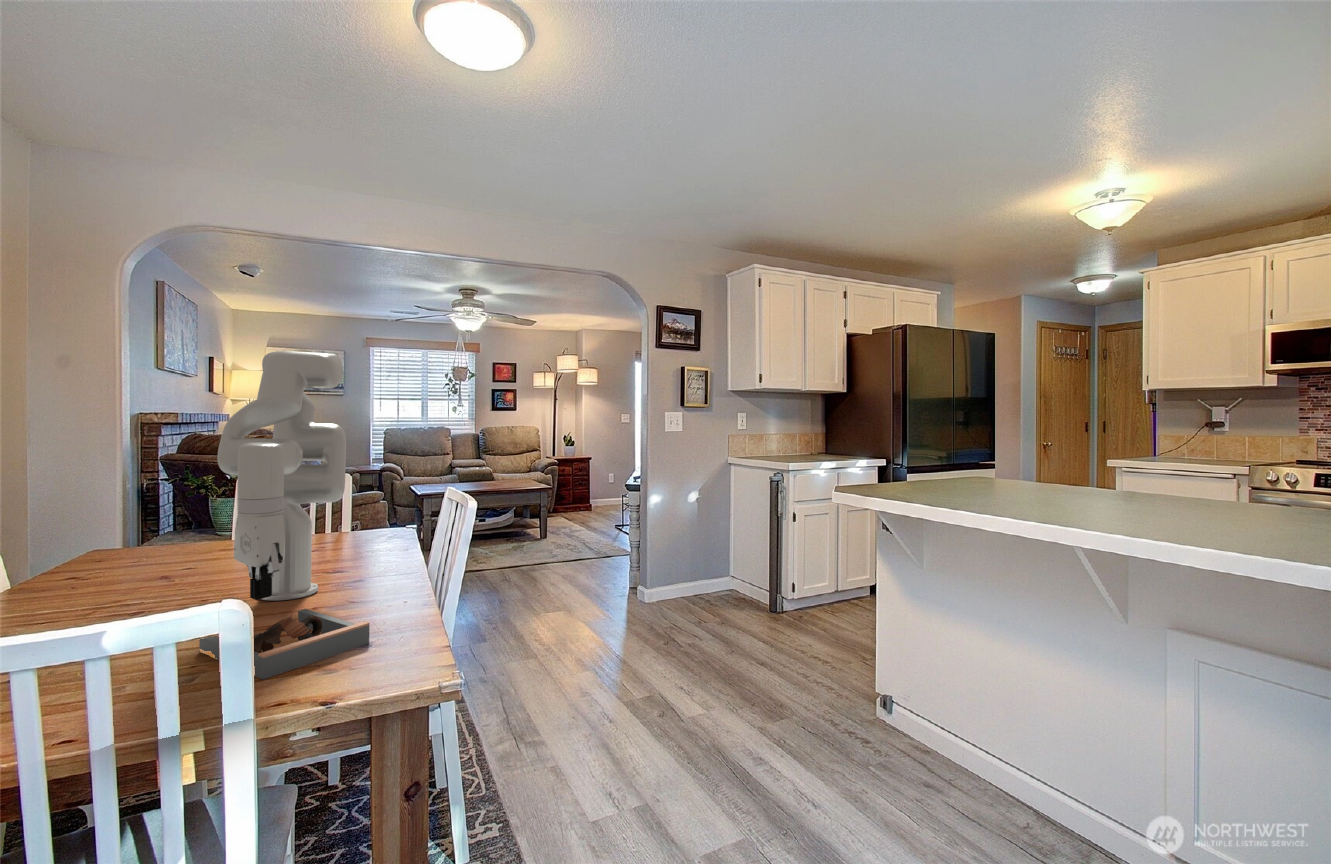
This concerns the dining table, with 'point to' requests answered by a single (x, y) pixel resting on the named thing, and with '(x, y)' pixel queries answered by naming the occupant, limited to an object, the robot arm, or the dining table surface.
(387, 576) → the dining table surface
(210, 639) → the bay
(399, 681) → the dining table surface
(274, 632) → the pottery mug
